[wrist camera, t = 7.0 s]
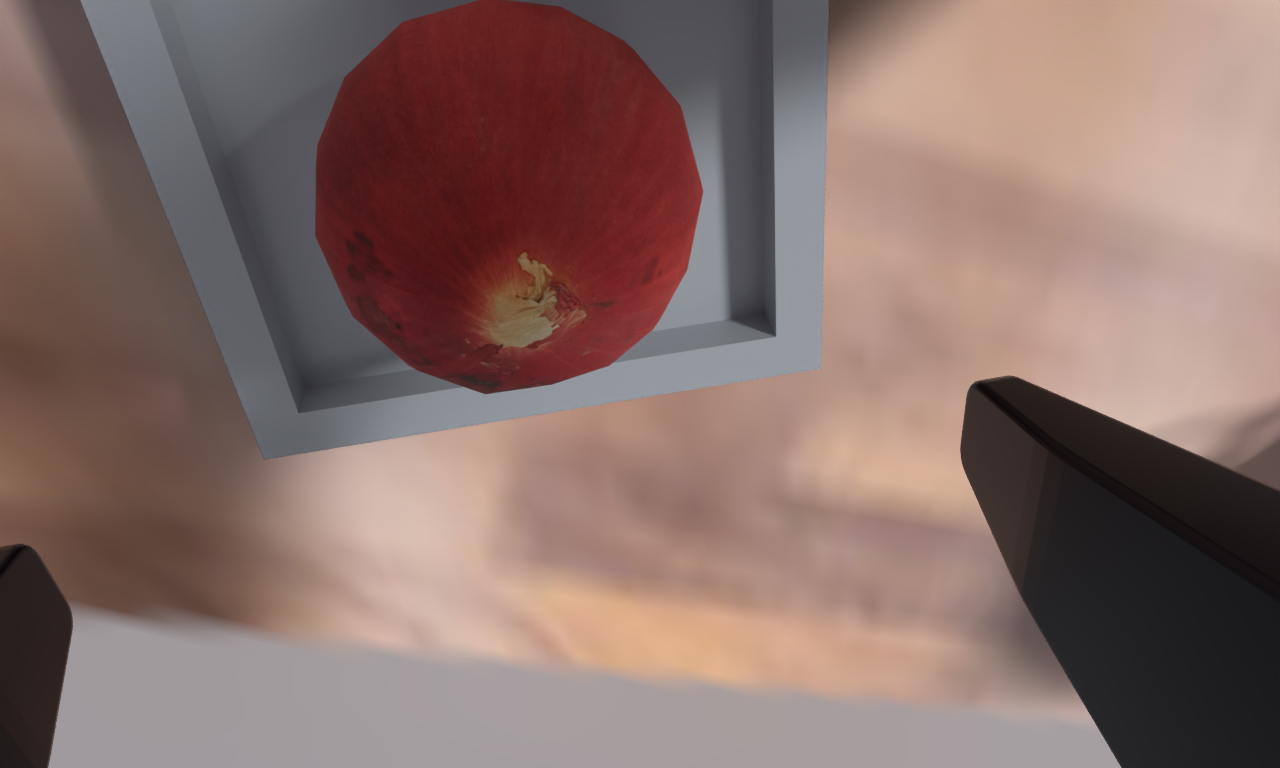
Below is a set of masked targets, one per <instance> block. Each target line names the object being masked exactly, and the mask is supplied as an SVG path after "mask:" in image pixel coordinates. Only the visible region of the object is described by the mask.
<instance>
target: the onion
mask: <svg viewBox="0 0 1280 768" xmlns="http://www.w3.org/2000/svg"><path fill="white" fill-rule="evenodd" d="M702 196H703V187H702V184H701V180H700V176H699V172H698V168H697V165H696V161H695V157H694V153H693V150H692V146H691V142H690V138H689V134H688V131H687V127H686V123H685V119H684V116H683V112H682V108H681V105H680V104H679V103H678V102H677V101H676V99H675V98H674V97H673V96H672V95H671V93H670V92H669V91H668V90H667V89H666V87H665V86H664V85H663V84H662V83H661V81H660V80H659V79H658V78H657V77H656V76H655V74H654V73H653V72H652V71H651V70H650V68H649V67H648V66H647V65H646V64H645V62H644V61H643V60H642V59H641V58H640V56H639V55H638V54H637V53H636V52H635V50H634V49H633V48H632V47H630V46H629V45H628V44H627V43H626V42H625V41H624V40H622V39H620V38H618V37H617V36H615V35H613V34H611V33H609V32H607V31H605V30H604V29H602V28H600V27H598V26H596V25H594V24H592V23H591V22H589V21H587V20H585V19H583V18H581V17H580V16H578V15H576V14H574V13H572V12H570V11H568V10H567V9H565V8H563V7H560V6H552V5H544V4H536V3H527V2H519V1H511V0H478V1H474V2H471V3H467V4H464V5H460V6H457V7H453V8H450V9H446V10H443V11H439V12H435V13H432V14H428V15H425V16H421V17H418V18H414V19H411V20H407V21H404V22H402V23H401V24H400V25H399V26H398V27H397V28H395V29H394V30H393V31H392V32H391V33H390V34H389V35H388V36H387V37H386V38H385V39H384V40H383V41H382V42H381V43H380V44H379V45H378V46H377V47H376V48H375V49H373V50H372V51H371V52H370V53H369V54H368V55H367V56H366V57H365V58H364V59H363V60H362V61H361V62H360V63H359V64H358V65H357V66H356V67H355V68H354V69H353V70H351V71H350V72H349V73H348V74H347V75H346V76H345V77H344V79H343V82H342V85H341V87H340V90H339V92H338V95H337V97H336V100H335V102H334V105H333V107H332V110H331V112H330V115H329V117H328V120H327V122H326V125H325V127H324V130H323V132H322V135H321V137H320V140H319V142H318V145H317V157H316V206H315V237H316V239H317V241H318V244H319V246H320V248H321V250H322V252H323V255H324V257H325V259H326V261H327V263H328V266H329V268H330V270H331V272H332V275H333V277H334V279H335V281H336V283H337V286H338V288H339V290H340V292H341V295H342V297H343V299H344V301H345V303H346V305H347V307H348V309H349V310H350V312H351V314H352V316H353V317H354V318H355V319H356V320H357V321H358V322H360V323H361V324H362V325H363V326H364V327H365V328H366V329H368V330H369V331H370V332H371V333H372V334H373V335H374V336H375V337H377V338H378V339H379V340H380V341H381V342H382V343H383V344H385V345H386V346H387V347H388V348H389V349H390V350H391V351H393V352H394V353H395V354H396V355H397V356H398V357H399V358H400V359H402V360H403V361H404V362H405V363H406V364H407V365H409V366H410V367H412V368H414V369H416V370H417V371H419V372H422V373H425V374H428V375H431V376H434V377H437V378H440V379H442V380H445V381H448V382H451V383H454V384H457V385H460V386H463V387H465V388H468V389H471V390H474V391H477V392H480V393H483V394H492V393H498V392H505V391H512V390H519V389H526V388H533V387H539V386H546V385H553V384H556V383H559V382H562V381H565V380H568V379H571V378H574V377H577V376H580V375H583V374H586V373H589V372H592V371H595V370H598V369H601V368H604V367H607V366H610V365H611V364H612V363H613V362H615V361H616V360H617V359H618V358H619V357H621V356H622V355H623V354H624V353H625V352H627V351H628V350H629V349H630V348H631V347H633V346H634V345H635V344H636V343H638V342H639V341H640V340H641V339H642V338H644V337H645V336H646V335H647V334H648V333H650V332H651V331H652V330H653V329H654V328H655V326H656V325H657V323H658V322H659V320H660V319H661V317H662V315H663V313H664V311H665V310H666V308H667V306H668V304H669V302H670V300H671V299H672V297H673V295H674V293H675V291H676V290H677V288H678V286H679V284H680V282H681V280H682V279H683V277H684V275H685V273H686V271H687V269H688V264H689V260H690V255H691V250H692V245H693V240H694V235H695V230H696V225H697V220H698V216H699V211H700V206H701V201H702Z"/></svg>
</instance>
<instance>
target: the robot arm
mask: <svg viewBox="0 0 1280 768" xmlns="http://www.w3.org/2000/svg"><path fill="white" fill-rule="evenodd" d="M960 451H961V460H962V464H963V468H964V471H965V473H966V475H967V478H968V480H969V482H970V484H971V487H972V489H973V491H974V493H975V496H976V498H977V500H978V502H979V505H980V507H981V509H982V511H983V514H984V516H985V518H986V520H987V523H988V525H989V527H990V529H991V532H992V534H993V536H994V538H995V541H996V543H997V545H998V548H999V550H1000V552H1001V554H1002V557H1003V559H1004V561H1005V563H1006V566H1007V568H1008V570H1009V572H1010V575H1011V577H1012V579H1013V581H1014V583H1015V585H1016V587H1017V589H1018V591H1019V593H1020V595H1021V597H1022V599H1023V601H1024V603H1025V605H1026V606H1027V608H1028V610H1029V612H1030V614H1031V615H1032V617H1033V619H1034V620H1035V622H1036V624H1037V626H1038V627H1039V629H1040V631H1041V632H1042V634H1043V636H1044V637H1045V639H1046V641H1047V642H1048V644H1049V646H1050V648H1051V649H1052V651H1053V653H1054V654H1055V656H1056V658H1057V659H1058V661H1059V663H1060V664H1061V666H1062V668H1063V670H1064V671H1065V673H1066V675H1067V676H1068V678H1069V680H1070V681H1071V683H1072V685H1073V686H1074V688H1075V690H1076V692H1077V693H1078V695H1079V697H1080V698H1081V700H1082V702H1083V703H1084V705H1085V707H1086V708H1087V710H1088V712H1089V714H1090V715H1091V717H1092V719H1093V720H1094V722H1095V724H1096V725H1097V727H1098V729H1099V730H1100V732H1101V734H1102V736H1103V737H1104V739H1105V741H1106V742H1107V744H1108V746H1109V747H1110V749H1111V751H1112V752H1113V754H1114V756H1115V758H1116V759H1117V761H1118V763H1119V764H1120V766H1121V768H1280V490H1278V489H1276V488H1274V487H1271V486H1269V485H1267V484H1264V483H1262V482H1260V481H1257V480H1255V479H1253V478H1250V477H1248V476H1246V475H1243V474H1241V473H1239V472H1236V471H1234V470H1232V469H1229V468H1227V467H1225V466H1222V465H1220V464H1218V463H1215V462H1213V461H1211V460H1209V459H1206V458H1204V457H1202V456H1199V455H1197V454H1195V453H1192V452H1190V451H1188V450H1185V449H1183V448H1181V447H1178V446H1176V445H1174V444H1171V443H1169V442H1167V441H1164V440H1162V439H1160V438H1157V437H1155V436H1153V435H1150V434H1148V433H1146V432H1143V431H1141V430H1139V429H1137V428H1134V427H1132V426H1130V425H1127V424H1125V423H1123V422H1120V421H1118V420H1116V419H1113V418H1111V417H1109V416H1106V415H1104V414H1102V413H1099V412H1097V411H1095V410H1092V409H1090V408H1088V407H1085V406H1083V405H1081V404H1078V403H1076V402H1074V401H1071V400H1069V399H1067V398H1065V397H1062V396H1060V395H1058V394H1055V393H1053V392H1051V391H1048V390H1046V389H1044V388H1041V387H1039V386H1037V385H1034V384H1032V383H1030V382H1027V381H1025V380H1023V379H1020V378H1018V377H1015V376H1003V377H997V378H991V379H985V380H979V381H976V382H975V383H973V384H972V385H971V386H970V388H969V390H968V393H967V397H966V406H965V414H964V422H963V430H962V438H961V448H960ZM72 629H73V619H72V612H71V609H70V606H69V604H68V602H67V600H66V598H65V597H64V595H63V593H62V592H61V590H60V588H59V587H58V585H57V584H56V582H55V580H54V579H53V577H52V575H51V574H50V572H49V571H48V569H47V567H46V566H45V564H44V562H43V561H42V559H41V557H40V556H39V555H38V553H37V552H36V551H35V550H34V549H33V548H32V547H30V546H28V545H24V544H15V545H9V546H3V547H0V768H48V765H49V760H50V756H51V750H52V744H53V738H54V733H55V727H56V721H57V716H58V710H59V704H60V699H61V693H62V687H63V682H64V676H65V670H66V664H67V659H68V653H69V647H70V642H71V636H72Z"/></svg>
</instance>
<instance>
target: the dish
mask: <svg viewBox="0 0 1280 768" xmlns="http://www.w3.org/2000/svg"><path fill="white" fill-rule="evenodd" d="M80 1H81V4H82V6H83V9H84V11H85V14H86V16H87V19H88V21H89V24H90V26H91V29H92V31H93V34H94V36H95V39H96V41H97V44H98V46H99V49H100V51H101V54H102V56H103V59H104V61H105V64H106V66H107V69H108V71H109V74H110V76H111V79H112V81H113V84H114V86H115V89H116V91H117V94H118V96H119V99H120V101H121V104H122V106H123V109H124V111H125V114H126V116H127V119H128V121H129V124H130V126H131V129H132V131H133V134H134V136H135V139H136V141H137V144H138V146H139V149H140V151H141V154H142V156H143V159H144V161H145V164H146V166H147V169H148V171H149V174H150V176H151V179H152V181H153V184H154V186H155V189H156V191H157V194H158V196H159V199H160V201H161V204H162V206H163V209H164V211H165V214H166V216H167V219H168V221H169V224H170V226H171V229H172V231H173V234H174V236H175V239H176V241H177V244H178V246H179V249H180V251H181V254H182V256H183V259H184V261H185V264H186V266H187V269H188V271H189V274H190V276H191V279H192V281H193V284H194V286H195V289H196V291H197V294H198V296H199V299H200V301H201V304H202V306H203V309H204V311H205V314H206V316H207V319H208V321H209V324H210V326H211V329H212V331H213V334H214V336H215V339H216V341H217V344H218V346H219V349H220V351H221V354H222V356H223V359H224V361H225V364H226V366H227V369H228V371H229V374H230V376H231V379H232V381H233V384H234V386H235V389H236V391H237V394H238V396H239V399H240V401H241V404H242V406H243V409H244V411H245V414H246V416H247V419H248V421H249V424H250V426H251V429H252V431H253V434H254V436H255V439H256V441H257V443H258V446H259V448H260V451H261V453H262V456H263V458H264V460H265V459H271V458H277V457H283V456H289V455H295V454H301V453H308V452H314V451H320V450H326V449H332V448H338V447H344V446H350V445H356V444H363V443H369V442H375V441H381V440H387V439H393V438H399V437H405V436H412V435H418V434H424V433H430V432H436V431H442V430H448V429H454V428H460V427H467V426H473V425H479V424H485V423H491V422H497V421H503V420H509V419H515V418H522V417H528V416H534V415H540V414H546V413H552V412H558V411H564V410H571V409H577V408H583V407H589V406H595V405H601V404H607V403H613V402H619V401H626V400H632V399H638V398H644V397H650V396H656V395H662V394H668V393H674V392H681V391H687V390H693V389H699V388H705V387H711V386H717V385H723V384H730V383H736V382H742V381H748V380H754V379H760V378H766V377H772V376H778V375H785V374H791V373H797V372H803V371H809V370H815V369H821V354H822V307H823V260H824V213H825V166H826V119H827V72H828V25H829V0H511V1H519V2H527V3H536V4H544V5H552V6H560V7H563V8H565V9H567V10H568V11H570V12H572V13H574V14H576V15H578V16H580V17H581V18H583V19H585V20H587V21H589V22H591V23H592V24H594V25H596V26H598V27H600V28H602V29H604V30H605V31H607V32H609V33H611V34H613V35H615V36H617V37H618V38H620V39H622V40H624V41H625V42H626V43H627V44H628V45H629V46H630V47H632V48H633V49H634V50H635V52H636V53H637V54H638V55H639V56H640V58H641V59H642V60H643V61H644V62H645V64H646V65H647V66H648V67H649V68H650V70H651V71H652V72H653V73H654V74H655V76H656V77H657V78H658V79H659V80H660V81H661V83H662V84H663V85H664V86H665V87H666V89H667V90H668V91H669V92H670V93H671V95H672V96H673V97H674V98H675V99H676V101H677V102H678V103H679V104H680V105H681V108H682V112H683V116H684V119H685V123H686V127H687V131H688V134H689V138H690V142H691V146H692V150H693V153H694V157H695V161H696V165H697V168H698V172H699V176H700V180H701V184H702V187H703V196H702V201H701V206H700V211H699V216H698V220H697V225H696V230H695V235H694V240H693V245H692V250H691V255H690V260H689V264H688V269H687V271H686V273H685V275H684V277H683V279H682V280H681V282H680V284H679V286H678V288H677V290H676V291H675V293H674V295H673V297H672V299H671V300H670V302H669V304H668V306H667V308H666V310H665V311H664V313H663V315H662V317H661V319H660V320H659V322H658V323H657V325H656V326H655V328H654V329H653V330H652V331H651V332H650V333H648V334H647V335H646V336H645V337H644V338H642V339H641V340H640V341H639V342H638V343H636V344H635V345H634V346H633V347H631V348H630V349H629V350H628V351H627V352H625V353H624V354H623V355H622V356H621V357H619V358H618V359H617V360H616V361H615V362H613V363H612V364H611V365H610V366H607V367H604V368H601V369H598V370H595V371H592V372H589V373H586V374H583V375H580V376H577V377H574V378H571V379H568V380H565V381H562V382H559V383H556V384H553V385H546V386H539V387H533V388H526V389H519V390H512V391H505V392H498V393H492V394H483V393H480V392H477V391H474V390H471V389H468V388H465V387H463V386H460V385H457V384H454V383H451V382H448V381H445V380H442V379H440V378H437V377H434V376H431V375H428V374H425V373H422V372H419V371H417V370H416V369H414V368H412V367H410V366H409V365H407V364H406V363H405V362H404V361H403V360H402V359H400V358H399V357H398V356H397V355H396V354H395V353H394V352H393V351H391V350H390V349H389V348H388V347H387V346H386V345H385V344H383V343H382V342H381V341H380V340H379V339H378V338H377V337H375V336H374V335H373V334H372V333H371V332H370V331H369V330H368V329H366V328H365V327H364V326H363V325H362V324H361V323H360V322H358V321H357V320H356V319H355V318H354V317H353V316H352V314H351V312H350V310H349V309H348V307H347V305H346V303H345V301H344V299H343V297H342V295H341V292H340V290H339V288H338V286H337V283H336V281H335V279H334V277H333V275H332V272H331V270H330V268H329V266H328V263H327V261H326V259H325V257H324V255H323V252H322V250H321V248H320V246H319V244H318V241H317V239H316V237H315V206H316V157H317V145H318V142H319V140H320V137H321V135H322V132H323V130H324V127H325V125H326V122H327V120H328V117H329V115H330V112H331V110H332V107H333V105H334V102H335V100H336V97H337V95H338V92H339V90H340V87H341V85H342V82H343V79H344V77H345V76H346V75H347V74H348V73H349V72H350V71H351V70H353V69H354V68H355V67H356V66H357V65H358V64H359V63H360V62H361V61H362V60H363V59H364V58H365V57H366V56H367V55H368V54H369V53H370V52H371V51H372V50H373V49H375V48H376V47H377V46H378V45H379V44H380V43H381V42H382V41H383V40H384V39H385V38H386V37H387V36H388V35H389V34H390V33H391V32H392V31H393V30H394V29H395V28H397V27H398V26H399V25H400V24H401V23H402V22H404V21H407V20H411V19H414V18H418V17H421V16H425V15H428V14H432V13H435V12H439V11H443V10H446V9H450V8H453V7H457V6H460V5H464V4H467V3H471V2H474V1H478V0H80Z"/></svg>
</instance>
